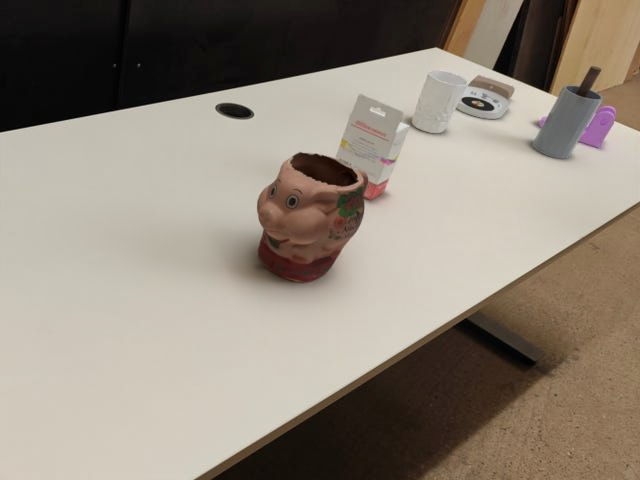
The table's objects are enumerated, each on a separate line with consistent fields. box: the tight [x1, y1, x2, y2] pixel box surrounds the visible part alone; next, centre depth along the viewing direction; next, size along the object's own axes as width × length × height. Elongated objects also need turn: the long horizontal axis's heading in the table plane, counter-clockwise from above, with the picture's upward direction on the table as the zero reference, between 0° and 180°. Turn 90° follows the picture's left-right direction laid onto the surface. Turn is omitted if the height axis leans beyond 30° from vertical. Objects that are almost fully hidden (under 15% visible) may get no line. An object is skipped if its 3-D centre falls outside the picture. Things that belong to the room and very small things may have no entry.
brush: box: [576, 65, 602, 98], centre depth 132 cm, size 4×4×16 cm
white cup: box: [411, 69, 469, 134], centre depth 135 cm, size 8×8×10 cm
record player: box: [456, 74, 516, 120], centre depth 152 cm, size 12×3×20 cm
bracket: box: [538, 105, 617, 149], centre depth 145 cm, size 13×6×7 cm, turn 59°
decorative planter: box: [256, 151, 368, 283], centre depth 89 cm, size 20×12×14 cm, turn 135°
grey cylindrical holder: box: [532, 84, 604, 160], centre depth 134 cm, size 7×7×12 cm
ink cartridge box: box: [335, 93, 411, 201], centre depth 108 cm, size 9×5×15 cm, turn 47°
